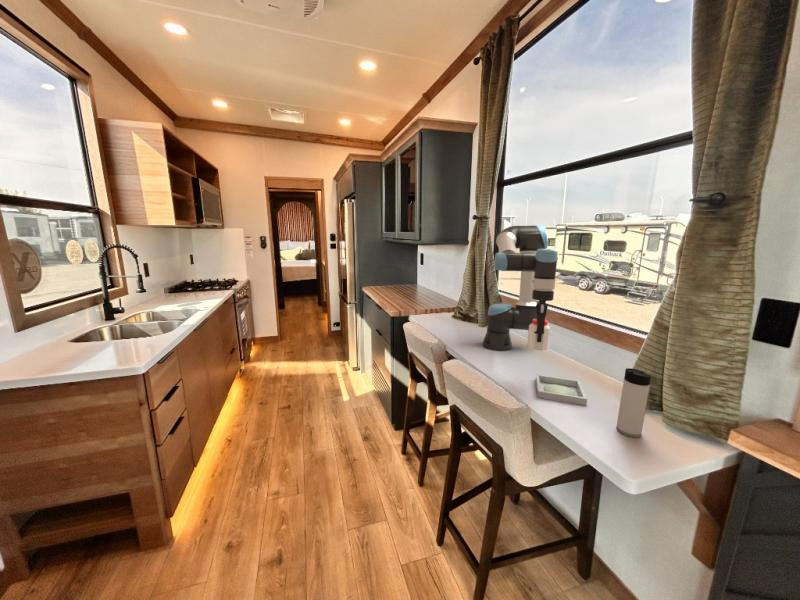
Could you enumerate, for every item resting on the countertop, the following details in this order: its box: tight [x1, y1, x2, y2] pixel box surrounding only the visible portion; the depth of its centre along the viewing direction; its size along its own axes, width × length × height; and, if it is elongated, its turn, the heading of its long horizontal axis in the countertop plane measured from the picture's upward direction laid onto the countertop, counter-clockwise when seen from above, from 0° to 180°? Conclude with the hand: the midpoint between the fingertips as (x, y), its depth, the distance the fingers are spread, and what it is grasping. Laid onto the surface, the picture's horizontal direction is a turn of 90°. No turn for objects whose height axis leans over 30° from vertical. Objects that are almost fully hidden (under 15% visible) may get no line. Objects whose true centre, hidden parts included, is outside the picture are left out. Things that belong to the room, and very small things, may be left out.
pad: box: [542, 383, 576, 396], centre depth 122 cm, size 11×11×1 cm
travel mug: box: [616, 367, 652, 438], centre depth 95 cm, size 6×7×20 cm
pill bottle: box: [526, 319, 551, 351], centre depth 125 cm, size 8×8×11 cm
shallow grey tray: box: [535, 374, 588, 406], centre depth 122 cm, size 16×16×2 cm
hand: (538, 346), depth 126 cm, fingers closed on pill bottle, 8 cm apart
